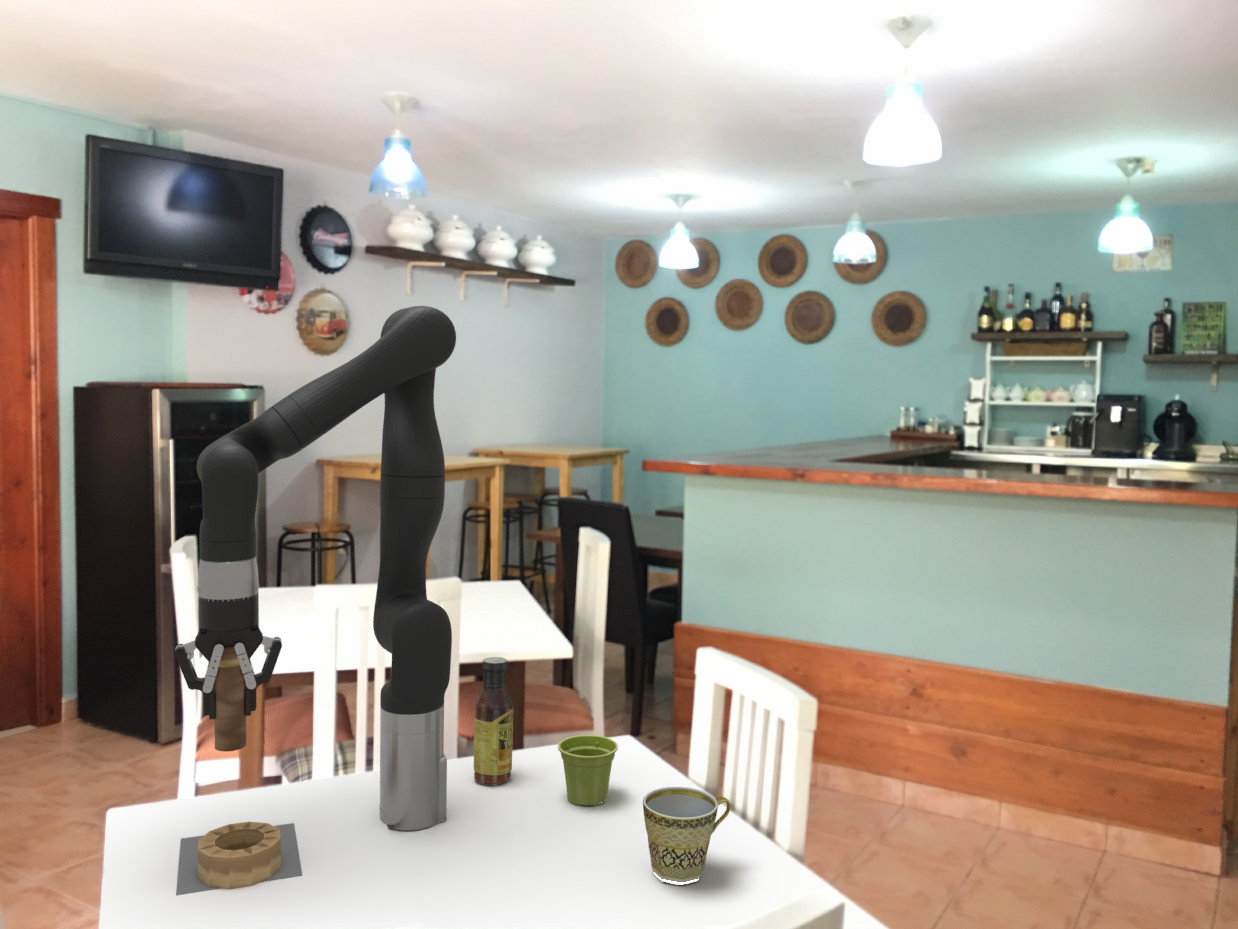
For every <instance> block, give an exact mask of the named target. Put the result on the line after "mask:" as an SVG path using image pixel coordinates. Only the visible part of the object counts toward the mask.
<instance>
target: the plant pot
mask: <svg viewBox="0 0 1238 929" xmlns="http://www.w3.org/2000/svg"><path fill="white" fill-rule="evenodd" d="M618 749H619V744H618V743H617V742H616V741H615V740H613V739H612V738H609V737H606V736H603V735H593V734H580V735H573V736H569V737H565V738H564V739H561V740H560V741H559V742H558V744H557V750H558V751H559V752H560V756H561V757H560V758H561V759H562V763H563V769H564V777H565V778H564V779H565V786H566V787H565V788H566V795H567V800H568V801H569V802H570V801H571V804H573V803H575V804H574V805H576V804H579V805H585V806H587V805H594V806H597V805H596V804H598V805H600V804H599V803H601V802H603V803H605V801H606V799H607V796H608V792H609V786H610V785H609V784H610V778H611V771H612V765H613V761H614V759H615V755H616V753H617V751H618ZM601 804H602V803H601ZM579 805H578V806H579Z"/></svg>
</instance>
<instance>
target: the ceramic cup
mask: <svg viewBox="0 0 1238 929" xmlns="http://www.w3.org/2000/svg"><path fill="white" fill-rule="evenodd" d="M723 803H726V809H725V811H724V812H723V813H722V815H721V816H720V817H719V818H718V819H717V814H718V808H719V806H720V805H721V804H723ZM642 808H643V816H644V826H645V830H646V834H647V843H648V850H649V857H650V864H651V870H653V872H655V873H656V874H657V875H658V876H659V877H661V879H666V880H671V881H677V882H686V881H690V880H694V879H698V878H700V877H701V878H702V876H701V875H703V874H702V873H704V871H705V865H706V859H707V854H708V852H709V851H708V850H709V847H710V846H709V845H710V842H711V838H712V834H713V833H714V832H715V831H716V829H717V828H718V827H719V825H720V824H721V823H722V822H723V821H724V820H725V819H726V818H727V817H728V816H729V814H730V812H731V803H730V800H729V799H728V798H726V797H725V796H724V797H723V796H718V797H714V796H713V795H712V794H710V793H708V792H706V791H704V790H700V789H697V788H695V787H694V788H693V787H684V786H666V787H665V786H664V787H660V788H655V789H653V790H651V791H649V792H647V793H646V795H645V796H644V797H643V799H642ZM703 870H704V871H703ZM653 872H652V873H653ZM701 878H700V879H701Z"/></svg>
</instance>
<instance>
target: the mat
mask: <svg viewBox="0 0 1238 929" xmlns="http://www.w3.org/2000/svg"><path fill="white" fill-rule="evenodd" d="M273 826H274V827H276V828H278V829H280V837H281V867H280V868H279V869H278V870H277V871H276V872H275V873H274V874H273V875H272V876H271V877H270V878H268V879H265V880H263V881H261V882H258V883H264V882H271V881H277V880H278V881H279V880H285V879H291V878H297V877H302V876H303V870H302V865H301V864H302V863H301V859H300V853H299V852H300V851H299V847H298V846H299V845H298V841H297V839H298V838H297V834H296V828H295V823H294V822H293V823H292V822H291V823H284V824H277V825H273ZM204 835H205V834H204ZM204 835H198V836H197V835H196V836H190V837H183V838H182V837H181V838H180V844H179V858H178V867H177V869H178V870H177V879H176V888H175V889H176V891H175V892H176V893H175V896H181V895H187V894H188V895H189V894H195V893H201V892H207V891H213V890H219V889H222V888H217V887H209V886H208V885H206V884H204V883H203V882H201V881H200V880H198V840H200V839H201V838H202V837H203V836H204Z"/></svg>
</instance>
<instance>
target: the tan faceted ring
mask: <svg viewBox="0 0 1238 929" xmlns="http://www.w3.org/2000/svg"><path fill="white" fill-rule="evenodd" d="M274 826H275V825H272V824H271V823H269V822H258V821H243V822H236V823H228V824H226V825H223V826H220V827H218V828H217V827H216V828H215V829H213V830H210V831H208V832H207V833H205V834H204V836H203V835H202V836H203V837H202V838H201V839H200V840H198V880H200V881H201V882H203V883H204V884H206V885H208V886H209V887H217V888H221V889H228V890H231V889H236V888H243V887H244V888H245V887H249V886H253V885H256V884H257V883H258V882H259V883H262V882H261V881H263V880H265V879H268V878H270V877H271V876H272V875H273V874H274V873H275V872H276V871H277V870H278V869H279V868H280V867H281V837H280V829H278V828H276V827H274Z"/></svg>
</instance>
